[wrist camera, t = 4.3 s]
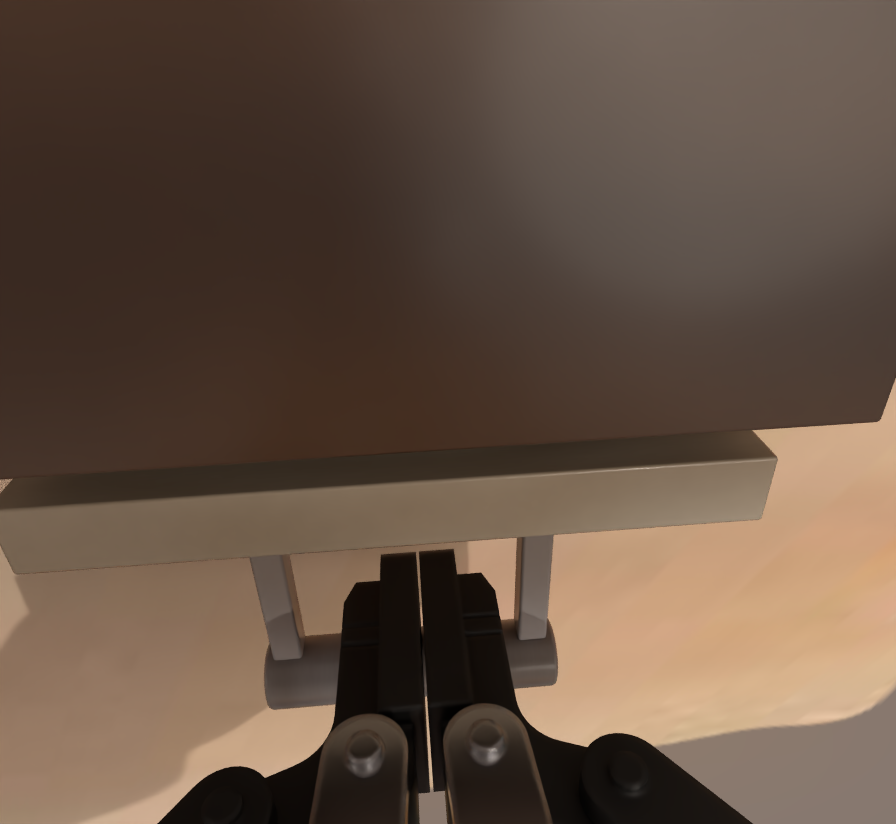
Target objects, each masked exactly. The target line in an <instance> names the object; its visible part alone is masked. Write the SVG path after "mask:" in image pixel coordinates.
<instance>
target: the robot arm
mask: <svg viewBox="0 0 896 824" xmlns="http://www.w3.org/2000/svg"><path fill="white" fill-rule="evenodd" d="M419 561H420V579H421V596H422V614H423V631H424V648H425V666H426V683H427V701H428V716H429V731H430V745H431V759H432V773H433V788H434V792H436V791H445V799H446V812H447V823H448V824H752V823H751V822H750V821H749V820H747V819H746V818H745V817H744V816H742V815H741V814H740V813H738V812H737V811H736V810H735V809H733V808H732V807H731V806H729V805H728V804H727V803H726V802H724V801H723V800H722V799H720V798H719V797H718V796H717V795H715V794H714V793H713V792H711V791H710V790H709V789H707V788H706V787H705V786H704V785H702V784H701V783H700V782H698V781H697V780H696V779H695V778H693V777H692V776H691V775H689V774H688V773H687V772H686V771H684V770H683V769H682V768H681V767H679V766H678V765H677V764H675V763H674V762H673V761H672V760H670V759H669V758H668V757H666V756H665V755H664V754H662V753H661V752H660V751H659V750H657V749H656V748H655V747H653V746H652V745H651V744H649V743H648V742H646V741H644V740H642V739H640V738H638V737H636V736H633V735H629V734H623V733H613V734H607V735H604V736H601V737H599V738H598V739H596V740H594V741H593V742H592V743H591V744H590V745H589V746H588V747H584V746H580V745H575V744H571V743H567V742H563V741H559V740H555V739H552V738H550V737H548V736H545V735H544V734H542V733H540V732H539V731H537V730H536V729H535V728H534V727H532V726H531V725H530V724H529V723H528V722H527V720H526V719H525V718H524V716H523V715H522V713H521V712H520V709H519V707H518V705H517V701H516V697H515V692H514V686H513V681H512V676H511V671H510V666H509V661H508V655H507V650H506V645H505V640H504V635H503V630H502V624H501V619H500V616H499V609H498V604H497V598H496V593H495V590H494V589H493V587H492V586H491V585H490V584H489V582H488V581H487V580H486V578H485V577H484V576H483V574H482V573H471V574H458V575H457V570H456V562H455V555H454V549H445V550H432V551H419ZM429 792H430V784H429V765H428V746H427V727H426V709H425V690H424V671H423V653H422V634H421V617H420V602H419V588H418V574H417V560H416V552H408V553H395V554H381V562H380V581H370V582H357V583H356V584H355V585H354V587H353V589H352V590H351V592H350V594H349V595H348V597H347V599H346V600H345V602H344V610H343V622H342V634H341V648H340V658H339V670H338V682H337V694H336V706H335V717H334V723H333V726H332V729H331V731H330V733H329V735H328V737H327V739H326V740H325V741H324V743H323V744H322V745H321V747H320V748H319V749H318V750H317V751H316V752H315V753H314V754H312V755H311V756H310V757H309V758H307V759H306V760H304V761H303V762H301V763H299V764H297V765H295V766H293V767H290V768H288V769H285V770H283V771H281V772H278V773H276V774H274V775H271V776H269V777H267V778H264V777H263V776H262V775H261V774H260V773H259V772H257V771H255V770H253V769H251V768H248V767H241V766H238V767H229V768H224V769H221V770H219V771H216V772H214V773H212V774H210V775H208V776H207V777H205V778H204V779H203V780H201V781H200V782H199V783H198V784H197V785H195V786H194V787H193V788H192V789H191V790H190V791H189V792H188V793H187V794H186V795H185V796H184V797H183V798H182V799H181V800H180V801H179V802H178V803H177V805H176V806H175V807H174V808H173V809H172V810H171V811H170V812H169V813H168V814H167V815H166V816H165V817H164V818H163V819H162V820H161V821H160V822H159V823H158V824H420V823H419V798H418V793H429Z"/></svg>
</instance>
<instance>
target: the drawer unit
mask: <svg viewBox="0 0 896 824" xmlns="http://www.w3.org/2000/svg"><path fill="white" fill-rule="evenodd" d="M895 378H896V0H0V479H15V478H30V477H45V476H60V475H76V474H91V473H106V472H121V471H137V470H152V469H167V468H182V467H198V466H213V465H228V464H243V463H259V462H274V461H289V460H304V459H320V458H335V457H350V456H365V455H381V454H396V453H411V452H426V451H442V450H457V449H472V448H487V447H503V446H518V445H533V444H548V443H564V442H579V441H594V440H609V439H625V438H640V437H655V436H670V435H686V434H701V433H716V432H731V431H747V430H762V429H777V428H792V427H808V426H823V425H838V424H853V423H869V422H878V421H879V420H880V419H881V417H882V414H883V411H884V409H885V406H886V403H887V400H888V398H889V395H890V392H891V389H892V386H893V384H894V381H895Z"/></svg>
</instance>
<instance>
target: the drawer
mask: <svg viewBox="0 0 896 824" xmlns="http://www.w3.org/2000/svg"><path fill="white" fill-rule="evenodd" d="M776 464H777V456H776V455H775V454H774V453H773V452H772V451H771V450H770V449H769V448H768V447H767V446H766V444H765V443H764V442H763V441H762V440H761V439H760V438H759V437H758V436H757V435H756V434H755V433H754V432H753V431H752V430H747V431H731V432H716V433H701V434H686V435H670V436H655V437H640V438H625V439H609V440H594V441H579V442H564V443H548V444H533V445H518V446H503V447H487V448H472V449H457V450H442V451H426V452H411V453H396V454H381V455H365V456H350V457H335V458H320V459H304V460H289V461H274V462H259V463H243V464H228V465H213V466H198V467H182V468H167V469H152V470H137V471H121V472H106V473H91V474H76V475H60V476H45V477H30V478H15V479H12V481H11V482H10V483H9V484H8V485H7V486H6V487H5V489H4V490H3V491H2V492H1V493H0V546H1V548H2V550H3V552H4V554H5V556H6V558H7V560H8V562H9V564H10V566H11V568H12V570H13V572H14V573H15V574H30V573H44V572H57V571H71V570H84V569H98V568H111V567H125V566H138V565H152V564H165V563H179V562H192V561H206V560H219V559H233V558H247V557H249V558H250V562H251V566H252V571H253V575H254V579H255V583H256V587H257V592H258V596H259V600H260V604H261V609H262V613H263V617H264V621H265V625H266V630H267V634H268V638H269V642H270V643H269V646H268V649H267V653H266V658H265V668H264V687H265V696H266V700H267V703H268V706H269V708H271V709H274V710H277V709H289V708H300V707H311V706H323V705H334V704H336V694H337V682H338V670H339V658H340V648H341V634H342V633H336V634H323V635H311V636H305V632H304V627H303V622H302V617H301V612H300V607H299V602H298V597H297V591H296V586H295V581H294V576H293V571H292V566H291V561H290V556H289V554H301V553H314V552H328V551H341V550H355V549H368V548H382V547H395V546H409V545H422V544H436V543H449V542H463V541H476V540H490V539H503V538H517V550H516V577H515V604H514V619H508V620H501V624H502V630H503V635H504V640H505V645H506V650H507V655H508V661H509V666H510V671H511V676H512V681H513V686H514V689H517V688H528V687H540V686H551V685H553V684H555V683H556V681H557V675H558V658H557V649H556V642H555V637H554V633H553V629H552V626H551V624H550V622H549V620H548V618H547V617H548V604H549V590H550V577H551V563H552V549H553V536H554V535H558V534H571V533H585V532H598V531H612V530H625V529H639V528H652V527H666V526H679V525H693V524H706V523H720V522H733V521H747V520H759V519H761V518H762V514H763V511H764V507H765V503H766V500H767V496H768V492H769V489H770V485H771V482H772V478H773V474H774V471H775V467H776ZM421 634H422V653H423V671H424V690H425V697H426V696H427V683H426V666H425V648H424V631H423V626H422V627H421Z"/></svg>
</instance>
